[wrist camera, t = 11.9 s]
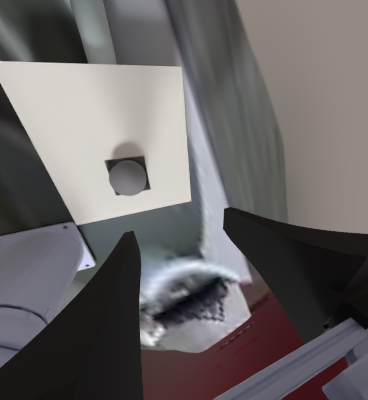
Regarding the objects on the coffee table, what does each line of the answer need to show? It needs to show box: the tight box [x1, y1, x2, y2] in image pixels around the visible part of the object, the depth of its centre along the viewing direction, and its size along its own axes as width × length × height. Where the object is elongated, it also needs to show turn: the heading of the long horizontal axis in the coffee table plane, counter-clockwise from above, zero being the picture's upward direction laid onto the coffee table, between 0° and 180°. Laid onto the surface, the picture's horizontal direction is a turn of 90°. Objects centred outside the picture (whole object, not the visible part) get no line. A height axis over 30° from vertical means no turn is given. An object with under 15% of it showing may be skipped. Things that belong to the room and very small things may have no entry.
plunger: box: [109, 159, 146, 196], centre depth 12 cm, size 3×3×2 cm
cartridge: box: [70, 0, 117, 65], centre depth 9 cm, size 14×3×5 cm, turn 4°
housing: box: [0, 61, 191, 225], centre depth 14 cm, size 12×12×4 cm
